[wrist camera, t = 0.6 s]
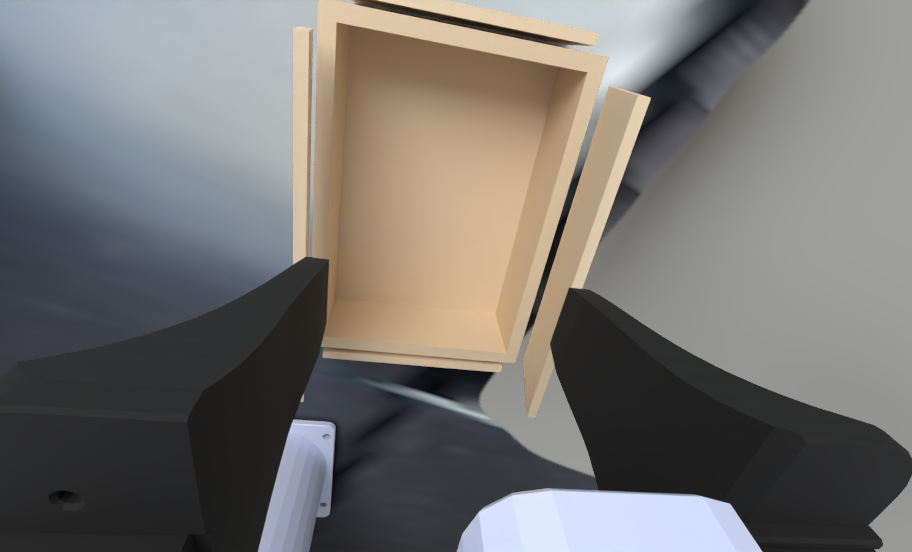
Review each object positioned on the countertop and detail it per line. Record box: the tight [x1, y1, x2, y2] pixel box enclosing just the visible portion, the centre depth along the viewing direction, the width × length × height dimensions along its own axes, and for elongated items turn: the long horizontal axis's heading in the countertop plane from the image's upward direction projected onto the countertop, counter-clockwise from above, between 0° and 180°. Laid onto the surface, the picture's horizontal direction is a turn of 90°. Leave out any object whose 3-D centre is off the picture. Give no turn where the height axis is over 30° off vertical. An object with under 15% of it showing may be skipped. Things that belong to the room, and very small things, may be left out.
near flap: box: [293, 26, 313, 402], centre depth 15 cm, size 12×4×1 cm
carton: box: [312, 0, 609, 372], centre depth 20 cm, size 15×10×4 cm, turn 170°
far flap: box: [523, 87, 651, 418], centre depth 16 cm, size 12×4×1 cm
